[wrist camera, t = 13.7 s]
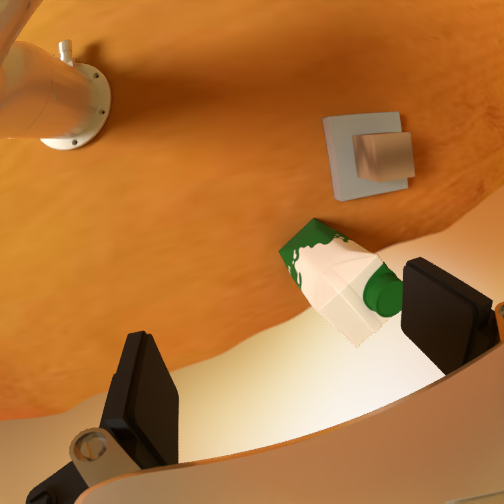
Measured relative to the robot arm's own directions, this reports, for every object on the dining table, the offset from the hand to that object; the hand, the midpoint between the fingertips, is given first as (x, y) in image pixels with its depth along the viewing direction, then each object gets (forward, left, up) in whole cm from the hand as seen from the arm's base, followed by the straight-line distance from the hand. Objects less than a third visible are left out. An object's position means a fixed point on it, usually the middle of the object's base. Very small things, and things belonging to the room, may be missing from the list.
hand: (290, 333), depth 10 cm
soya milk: (+11, +11, -34) cm, 37 cm away
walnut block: (-2, +22, -31) cm, 38 cm away
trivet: (-2, +22, -33) cm, 40 cm away
